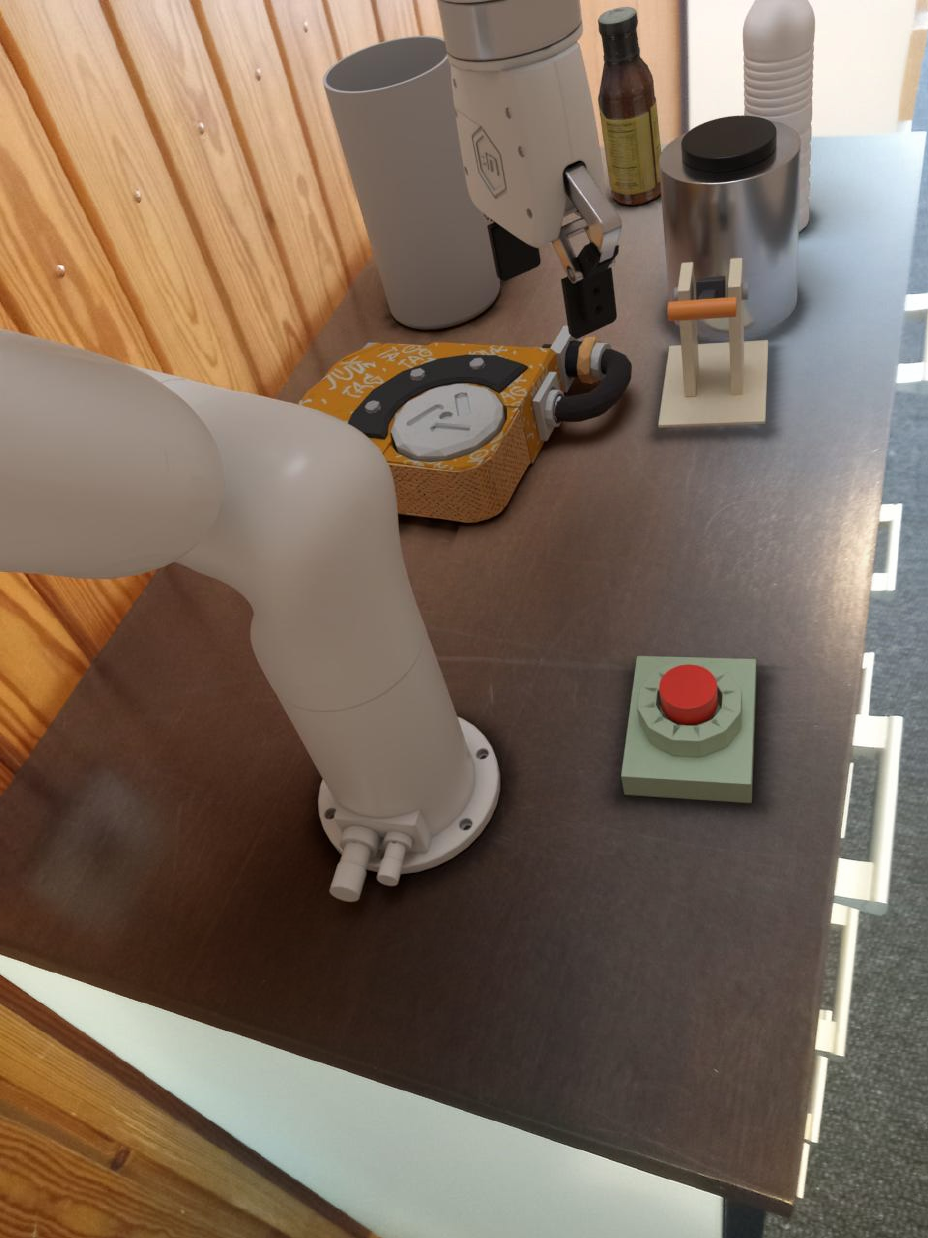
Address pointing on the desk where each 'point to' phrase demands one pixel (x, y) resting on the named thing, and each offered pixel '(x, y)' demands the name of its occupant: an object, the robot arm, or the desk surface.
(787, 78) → the water bottle
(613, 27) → the sauce bottle
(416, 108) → the cylinder vase
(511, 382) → the device
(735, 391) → the lever stand
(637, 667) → the push button block
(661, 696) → the power button
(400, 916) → the desk surface
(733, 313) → the orange handle lever
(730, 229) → the silver metal cylinder
